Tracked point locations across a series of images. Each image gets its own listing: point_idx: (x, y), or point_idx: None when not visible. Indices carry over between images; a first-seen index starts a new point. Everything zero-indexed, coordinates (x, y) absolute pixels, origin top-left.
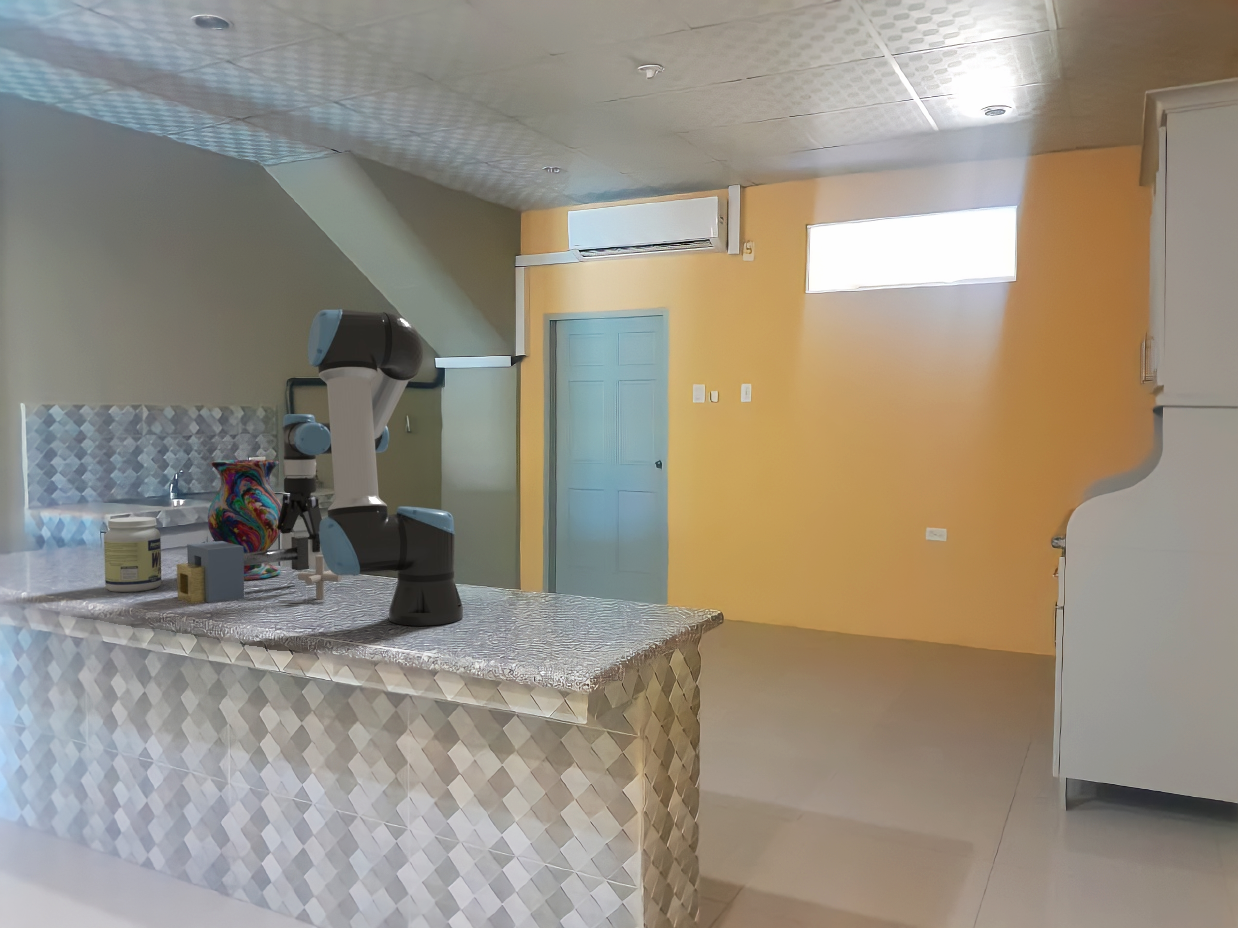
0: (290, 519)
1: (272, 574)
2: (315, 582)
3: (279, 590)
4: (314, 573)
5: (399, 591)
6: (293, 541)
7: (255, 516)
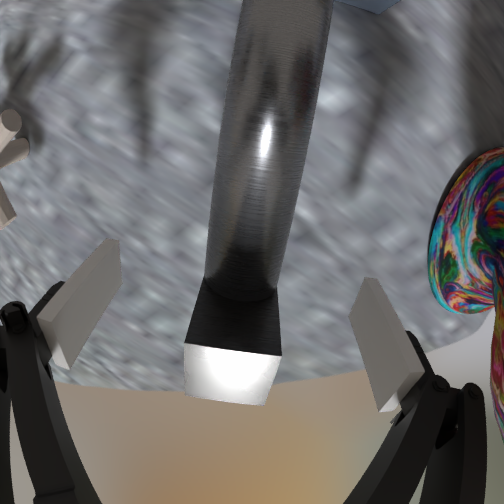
0: (372, 482)
1: (432, 264)
2: None
3: (215, 124)
4: None
5: None
6: (249, 330)
7: None
